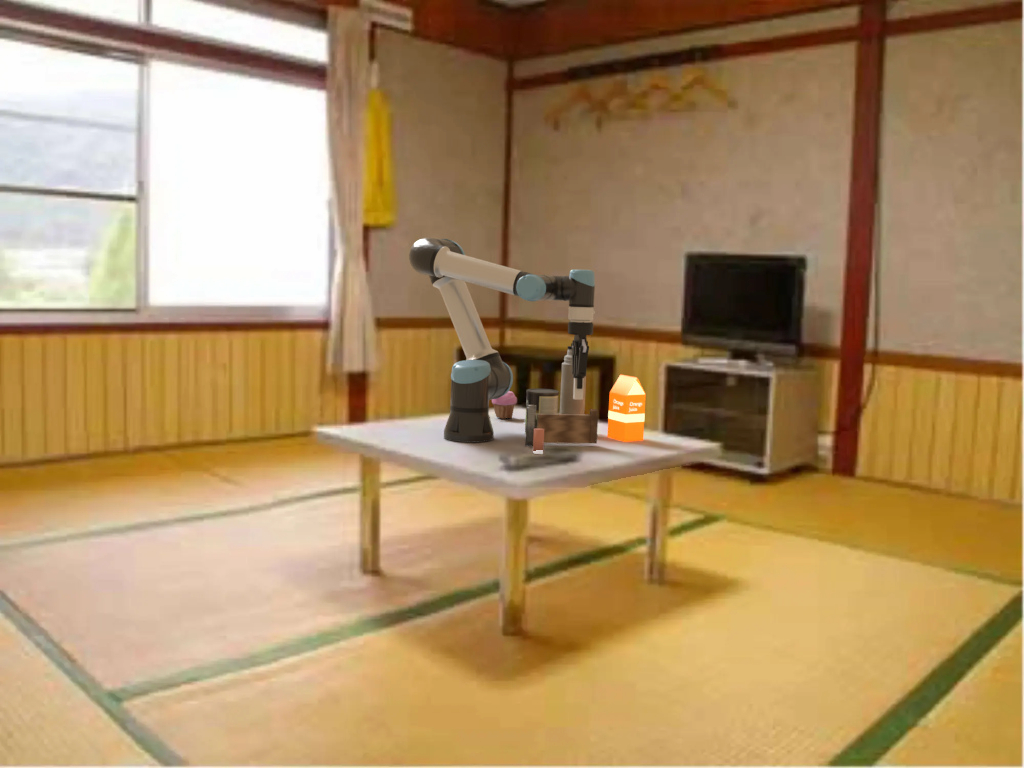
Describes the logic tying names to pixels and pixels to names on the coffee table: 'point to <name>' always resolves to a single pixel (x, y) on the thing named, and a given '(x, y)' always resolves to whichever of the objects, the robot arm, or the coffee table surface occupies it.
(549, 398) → the coffee can
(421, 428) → the coffee table surface
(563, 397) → the thermos bottle
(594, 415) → the gate
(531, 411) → the hinge post
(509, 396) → the cupcake
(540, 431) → the latch post
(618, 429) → the orange juice
